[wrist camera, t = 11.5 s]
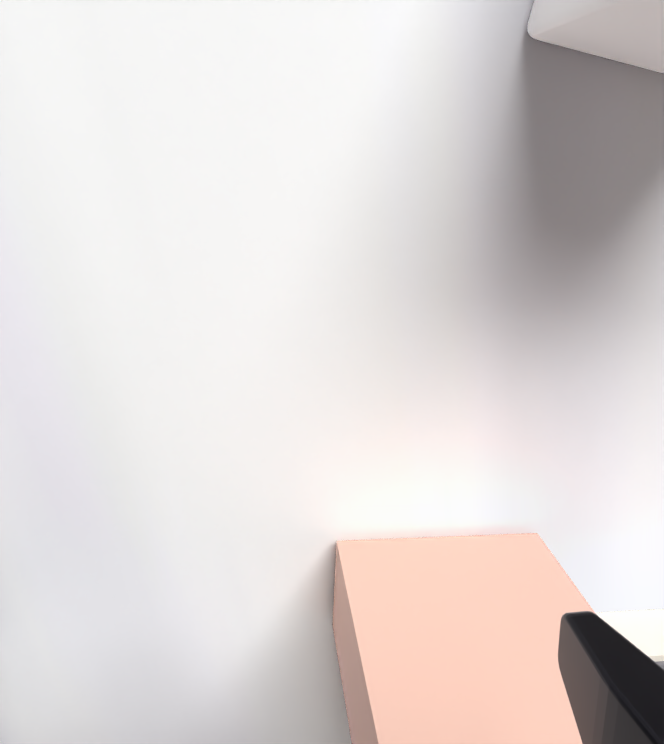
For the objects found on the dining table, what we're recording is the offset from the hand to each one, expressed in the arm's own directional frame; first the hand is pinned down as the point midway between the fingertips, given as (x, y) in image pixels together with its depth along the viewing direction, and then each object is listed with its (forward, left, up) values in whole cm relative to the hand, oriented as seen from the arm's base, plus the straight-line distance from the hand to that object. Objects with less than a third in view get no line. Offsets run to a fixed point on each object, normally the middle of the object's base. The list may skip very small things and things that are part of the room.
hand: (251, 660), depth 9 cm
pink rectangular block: (+4, -11, -13) cm, 17 cm away
